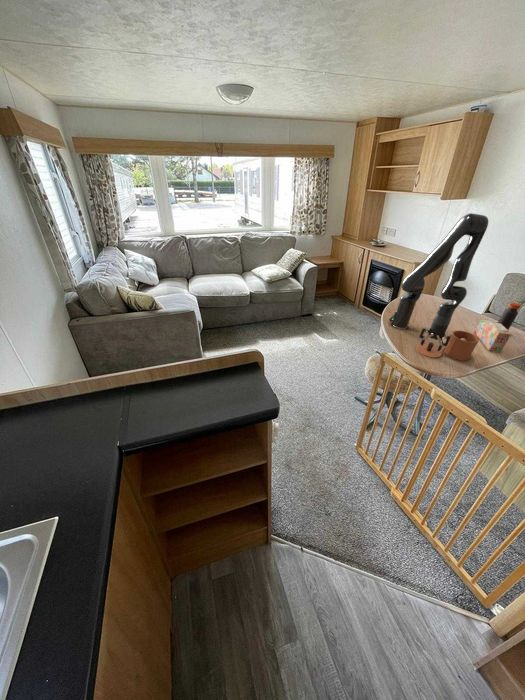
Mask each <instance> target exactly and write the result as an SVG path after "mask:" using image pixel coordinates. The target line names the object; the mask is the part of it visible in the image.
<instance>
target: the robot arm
mask: <svg viewBox="0 0 525 700" xmlns="http://www.w3.org/2000/svg"><path fill="white" fill-rule="evenodd" d="M488 227H489V218H488V217H487V216H486V215H484V214H478V213H472V212H471V213H469V212H468V213H466V214H463V216H461V218H459V220H458V221H457V222H456V223H455V224H454V226H453V227H451V229H450V231H449V232H448V233H447V234H446V236H445V237H444V238H443V239H442V240H441V241H440V243H438V244H437V246H436V247H435V248H434V249H433V250H432V251H431V252H430V253H429V254H428V255H427V256H426V257H425V259H423V261H422V262H421V263H420V264H419V265H418V266H417V267H416V268H415V269H414V270H413V271H412V272H411V273H410V274H408V275H407V276H406V277H405V278H404V279H403V280H402V283H401V289H402V290H403V292H405V293H403V294H402V295H401V296H400V298H399V302H398V304H397V307H396V310H395V312H394V314H393V315H392V316H390V318H389V319H388V320H389V322H390V326H392V327H393V328H396V329H400V330H406V329H407V328H408V327H409V324H410V321H411V317H412V315H413V312H414V310H415V307H416V304H417V302H418V301H419V299H420V298H421V296H422V293H423V291H424V289H425V286H426V285H425V284H426V281H425V278H426V277H428V276H430V275H432V274H433V273H435V272H437V271H438V270H440V269H441V268H442V267H443V266H444V265H445V264H447V262H449V260H451V258H452V257H453V256H452V255H453V253H454V248H455V245H456V244H457V243H458V242H459V241H460V240H461V239H462V238H463V237H465V236H468V240H467V244H466V245H465V246H464V249H463V250H461V252H460V254H459V255H458V256H457V257H456V259H455V260H454V262H453V264H452V268H451V271H450V275H449V277H448V279H447V281H446V283H444V284H445V285H444V286H443V287H442V289H441V292H440V296H441V299H443V300H447V301H446V302H442V303H440V305H439V307H438V309H437V311H436V313H435V316H434V317H433V319H432V322H431V324H430V327H429V328H427V327H426V326H424V327H423V328H422V330H421V332H420V334H419V339H421V341H420V344H421V346H423V344H425V341H426V340H427V339H429V338H430V339H432V340H434V341H438V343H439V345H438V347H437V348H438V350H437V351H442V348H443V347H446V346H447V344H448V342H449V340H450V337H451V335H452V334H446V332H447V330H448V327H449V325H450V323H451V320H452V317H453V315H454V313H455V310H456V309H457V308H458V307H459V305H460V304H462V302H463V301H464V300H465V298H466V296H467V295H468V291H467V288H466V287H465V286H459V285H455V284H456V283H458V282H465V281H466V280H467V279H468V276H469V275H468V274H469V271H470V268H471V265H472V263H473V259H474V256H475V254H476V252H477V251H478V249H479V246H480V245H481V242H482V240H483V237H484V236H485V233H486V232H487V230H488ZM425 333H427V334H426V335H424V334H425ZM443 338H445V342H444V339H443Z"/></svg>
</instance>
